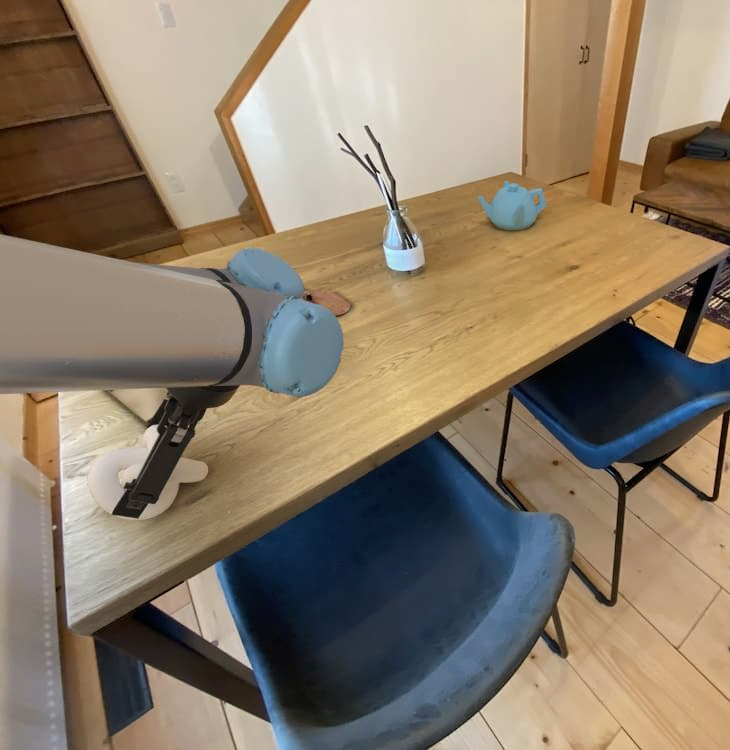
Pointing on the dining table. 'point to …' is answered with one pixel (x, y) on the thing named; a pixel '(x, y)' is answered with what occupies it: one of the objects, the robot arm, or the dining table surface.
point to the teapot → (514, 207)
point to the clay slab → (327, 300)
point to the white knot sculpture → (132, 460)
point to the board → (141, 400)
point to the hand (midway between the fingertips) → (142, 470)
